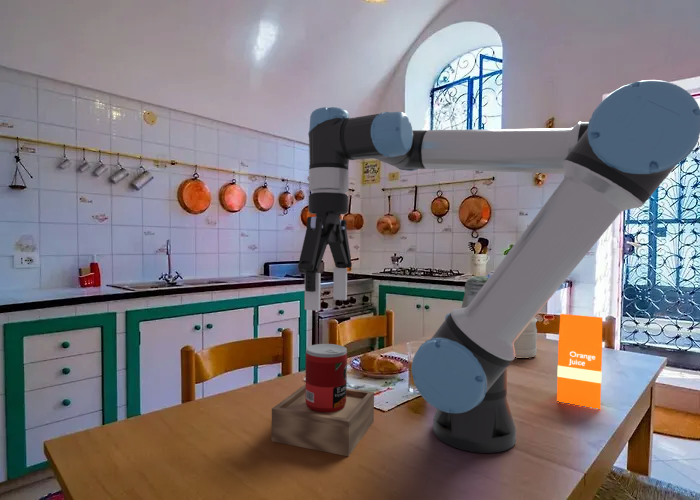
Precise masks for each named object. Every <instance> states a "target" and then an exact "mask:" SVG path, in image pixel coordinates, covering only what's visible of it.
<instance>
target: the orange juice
mask: <svg viewBox="0 0 700 500" xmlns="http://www.w3.org/2000/svg"><path fill="white" fill-rule="evenodd" d="M559 317H560V318H559V330H558V331H559V332H558V349H557V351H558V352H557V373H556V374H557V387H556V391H557V392H556V402H557V401H559V402H564V403H570V404H575V405H580V406H579V407H581V406H586V407H592V408H598V409H600V410H601V404H602V403H601V395H602V373H603V372H602V365H603V364H602V363H603V317H600V316H590V315H589V316H588V315H578V314H577V315H576V314H567V313H560V315H559ZM559 402H558V403H559ZM564 403H563V404H564ZM570 404H569V405H570ZM575 405H574V406H575ZM586 407H585V408H586ZM592 408H591V409H592Z"/></svg>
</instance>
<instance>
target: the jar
mask: <svg viewBox="0 0 700 500" xmlns="http://www.w3.org/2000/svg"><path fill="white" fill-rule="evenodd" d="M537 322H538V319H537V317H536V316H535V317H534V318H533V320H532V321H531V322H530V323H529V324H528V326H527V327H526V328H525V329H524V331H523V332H522V333H521V334H520V335H519V337H518V338H517V339H516V340H515V341H514V348H515V354H516V357H521V358H526V357H533V356H535V355H536V356H537V352H538V351H537V350H538V349H537V335H538V334H537V332H538V329H537V325H536V323H537ZM536 356H535V357H536Z"/></svg>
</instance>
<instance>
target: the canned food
mask: <svg viewBox="0 0 700 500" xmlns="http://www.w3.org/2000/svg"><path fill="white" fill-rule="evenodd" d="M347 350H348V349H347V347H346V346H344V345H339V344H334V343H318V344H317V343H316V344H312V345H310V346H307V347H306V349H305V384H306V389H305V401H306V405H307V407H308V408H309V409H311V410H313V411H317V412H335V411H339V410H341V409H343V408H344V407H345V404H346V388H348V387H347V384H348V383H347V382H348V381H347V380H348V379H347V378H348V377H347V376H348V351H347Z"/></svg>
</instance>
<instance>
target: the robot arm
mask: <svg viewBox="0 0 700 500" xmlns="http://www.w3.org/2000/svg"><path fill="white" fill-rule="evenodd" d="M308 129H309V131H308V145H309V147H308V148H309V149H308V151H309V153H308V154H309V156H308V157H309V165H308V167H309V168H308V175H309V176H307V178H306V179H307V181H308V190H309V191H310V192H311V193H310V194H309V195H308V212H309V214H312V215H313V214H314V215H315V216H307V217H306V230H305V235H304V239H303V243H302V247H301V252H300V257H299V260H298V267H297V268H298V271H299V273H300V274H301V273H304V310H307V311H320V310H321V285H322V284H321V281H322V280H321V272H319V269H320V267H321V264H322V261H323V259H324V255H325V252H326V249H327V246H328V245H329V249H330V253H331V255H332V259H333V262H334V266H335V267H333V288H332V289H333V291H332V293H333V296H332V297H333V300H336V301H338V300H339V301H348V268H349V269H350V268H351V269H352V266H353V264H352V257H351V249H350V243H349V237H348V230H347V229H348V227H347V220H346V219H341V217H340V216H341V215H346V214H348V212H349V196H348V195H347V193H348V191H349V186H350V185H349V183H350V182H349V178H350V177H349V173H350V172H349V166H350V165H349V163H350V161H356V160H369V159H371V160H373V159H374V160H377V161H379V162H383V163H385V164H387V165H390V166H393V167H395V168H397V169H399V170H401V171H408V172H413V171H417V170H446V171H447V170H450V171H451V170H452V171H454V170H455V171H473V172H474V171H476V172H478V171H479V172H504V173H527V174H528V173H529V174H553V175H555V174H557V175H564V176H563V177H564V178H563V180H561V181H560V184H559V185H558V186H557V187H556V189H555V190H554V191H553V193H552V194H551V195H550V197H549V198H548V199H547V200H546V201H545V203H544V204H543V206H542V207H541V208H540V210H539V211H538V213H537V214H536V215H535V217H534V218H533V219H532V220H531V222H530V223H529V225H528V226H527V227H526V229H525V230H524V231H523V232H522V234H521V235H520V236H519V237H518V239H517V240H516V242H515V243H513V246H512V247H511V249H510V250H509V251H508V252H507V254H506V255H505V256H504V257H503V259H502V260H501V261H500V263H499V264H498V266H497V267H496V268H495V269H494V271H493V272H492V274H491V275H490V276H489V277H488V278H489V279H488V280H487V281H486V283H485V284H484V285H483V287H482V288H481V289H480V291H479V292H478V293H477V295H476V296H475V297H474V299H473V300H472V301H471V303H470V304H469V305H468V307H465V308H461V307H458V308H453V309H452V310H451V312H449V313H447V314H446V315H445V316H444V320H443V322H442V324H441V325H440V326H439V327H438V329H437V330H436V331H435V333H434V334H433V335H432V337H431V338H430V339H427V340H426V341H425V342H424V343H421V344H420V345H419V347H418V349H417V351H416V352H415V353H414V355H413V358H412V361H411V363H412V364H411V374H412V380H413V383H414V386H415V388H416V390H417V391H418V393H419V394H420V396H421V397H422V398H423V399H424V400H425V401H426V402H427V404H429V405H430V406H431V407H433V408H435V409H436V410H435V413H434V417H433V433H434V435H435V436H436V437H437V438H438V439H439V441H441V442H443V443H445V444H446V445H448V446H450V447H453V448H456V449H458V450H463V451H468V452H472V453H479V454H481V453H483V454H494V453H501V452H505V451H507V450H511V448H513V447H514V446H515V445H516V441H517V440H516V439H517V429H516V425H515V421H514V418H513V414H512V411H511V408H510V405H509V402H508V397H507V395H508V391H507V390H508V367H509V366H510V365H511V363H512V362H513V361H514V360H515V359H516V358H515V357H516V354H515V348H514V341H515V340H516V339H517V338H518V337H519V335H520V334H521V333H522V332H523V331H524V329H525V328H526V327H527V326H528V324H529V323H530V322H531V321H532V320H533V318H534V317H535V318H536V316H537V315H538V314H539V312H540V311H541V310H542V309H543V307H545V305H546V304H547V302H548V301H549V300H550V299H551V298H552V297H553V295H554V294H555V293H556V292H557V290H558V289H559V288H560V287H561V286H562V284H564V282H565V280H567V279H568V277H569V276H570V275H571V274H572V272H573V271H574V270H575V268H576V267H577V266H578V265H579V264H580V263H581V262H582V260H583V259H584V258H585V256H587V254H588V252H589V251H591V249H593V246H595V244H596V243H597V242H598V241H599V239H600V238H601V237H602V236H603V235H604V234H605V232H606V231H607V230H608V229H609V227H610V226H611V225H612V223H614V221H615V220H616V219H617V218H618V216H620V214H621V213H622V212H624V211H628V210H631V209H637V208H641V207H643V206H644V204H645V203H646V202H647V201H648V200H649V198H650V197H651V196H652V195H653V194H654V193H655V191H656V190H657V189H658V188H659V186H661V184H662V183H663V182H664V180H666V178H667V177H668V176H669V174H671V172H672V171H673V170H674V169H675V167H677V165H678V164H679V163H680V162H682V161H684V160H685V159H687V157H688V156H690V154H691V153H692V151H693V150H694V149H695V147H696V146H697V143H698V142H699V139H700V106H699V104H698V102H697V100H696V99H695V97H693V95H692V94H691V93H689V91H687V90H686V89H685V88H683V87H681V86H680V85H677V84H675V83H673V82H670V81H665V80H657V79H646V80H639V81H635V82H632V83H628V84H626V85H623V86H621V87H619V88H617V89H616V90H613V91H612V92H611V93H609V94H608V95H607V96H606V97H604V99H603V100H602V101H601V102H600V103H599V104H598V105H597V106H596V108H595V109H594V111H592V114H591V117H590V119H589V120H588V121H579V122H577V123H576V124H575V125H574V126H572V127H569V128H505V129H504V128H503V129H502V128H499V129H498V128H497V129H492V128H491V129H430V130H429V129H428V130H423V129H421V130H415V129H414V130H413V126H412V122H411V121H410V120H409V116H408V115H407V114H406V113H405V112H403V111H393V112H392V111H384V112H380V113H374V114H369V115H362V116H355V117H350V114H349V112H348V110H346V109H343V108H341V107H334V106H331V107H326V106H325V107H319V108H316V109H315V110H312V112H311V113H310V117H309V128H308Z"/></svg>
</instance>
